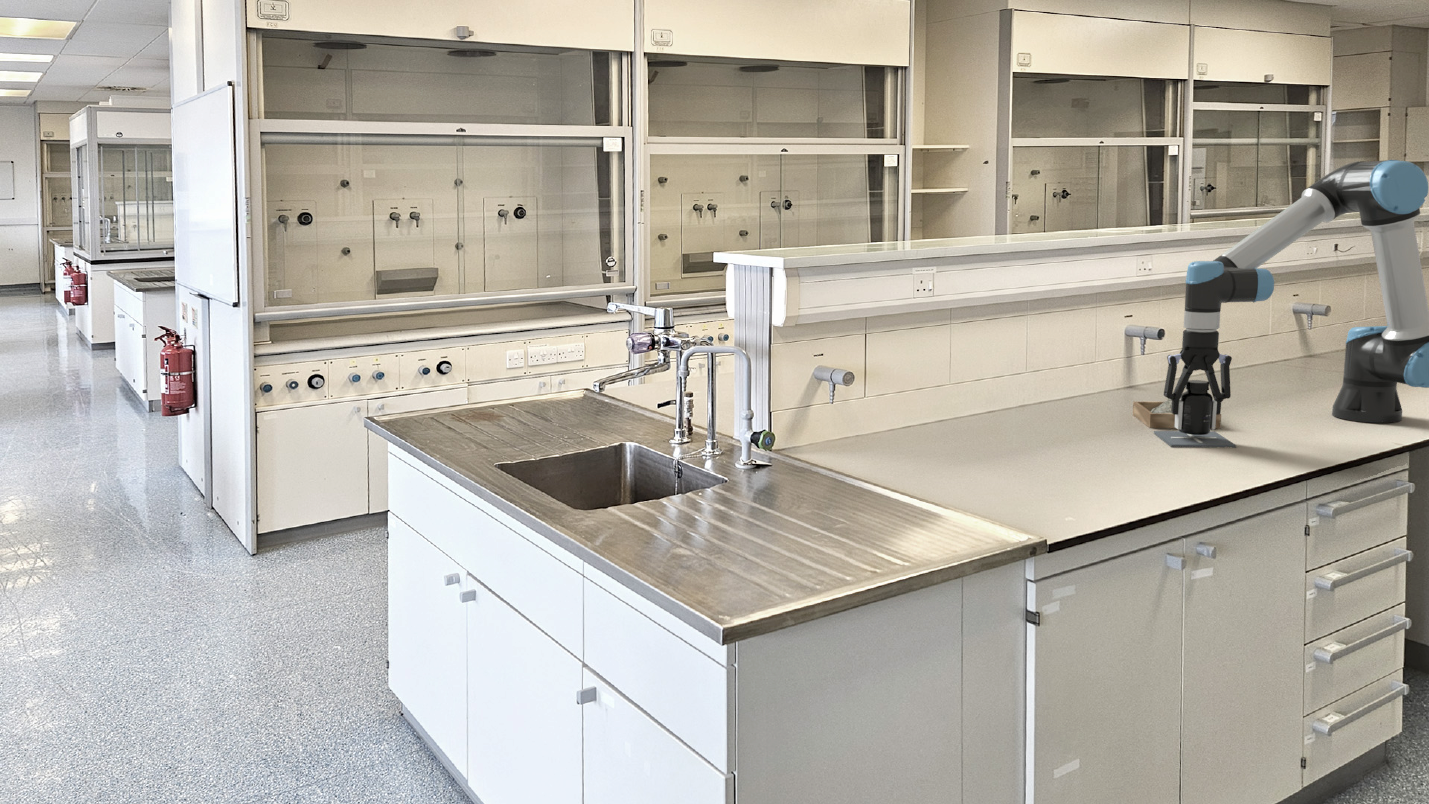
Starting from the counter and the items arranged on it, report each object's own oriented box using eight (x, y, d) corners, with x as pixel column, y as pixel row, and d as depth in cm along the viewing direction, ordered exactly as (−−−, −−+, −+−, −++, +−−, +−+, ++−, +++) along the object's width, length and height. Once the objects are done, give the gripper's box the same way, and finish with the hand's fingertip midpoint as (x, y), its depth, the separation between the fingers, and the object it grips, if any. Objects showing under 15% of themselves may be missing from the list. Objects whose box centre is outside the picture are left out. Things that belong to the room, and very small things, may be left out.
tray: (1199, 415, 282) (1200, 401, 281) (1220, 428, 267) (1221, 414, 266) (1132, 414, 284) (1133, 401, 283) (1149, 427, 269) (1150, 413, 268)
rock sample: (1134, 400, 283) (1163, 381, 278) (1154, 417, 285) (1183, 398, 280) (1139, 425, 275) (1169, 405, 270) (1160, 442, 277) (1190, 423, 272)
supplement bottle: (1213, 436, 251) (1217, 384, 248) (1181, 435, 252) (1184, 383, 250) (1206, 429, 257) (1209, 379, 255) (1175, 428, 259) (1178, 378, 256)
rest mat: (1214, 433, 261) (1215, 430, 261) (1235, 447, 248) (1236, 444, 247) (1153, 433, 263) (1153, 430, 263) (1171, 447, 249) (1171, 444, 249)
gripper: (1240, 327, 253) (1233, 424, 257) (1151, 327, 255) (1146, 424, 259) (1252, 331, 245) (1245, 431, 250) (1160, 332, 248) (1155, 431, 252)
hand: (1194, 428), depth 255 cm, fingers closed on supplement bottle, 7 cm apart
